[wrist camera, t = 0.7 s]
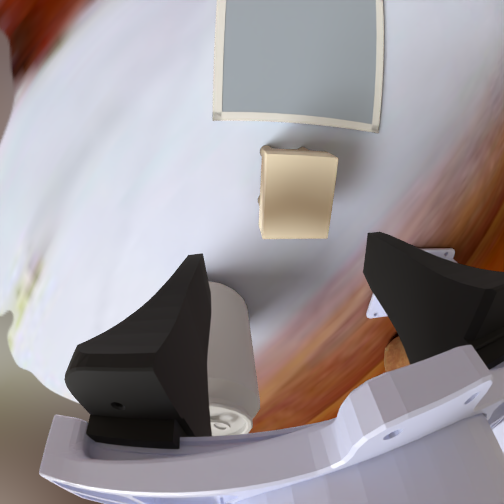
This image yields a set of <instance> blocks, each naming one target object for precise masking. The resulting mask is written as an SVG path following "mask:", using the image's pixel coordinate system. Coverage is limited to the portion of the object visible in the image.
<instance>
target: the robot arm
mask: <svg viewBox="0 0 504 504" xmlns="http://www.w3.org/2000/svg"><path fill="white" fill-rule="evenodd" d="M454 254H455V250H454V249H453V248H435V249H419V248H417V247H415V246H413V245H410V244H408V243H406V242H404V241H402V240H399V239H397V238H395V237H393V236H390V235H388V234H385V233H382V232H374V233H368V236H367V245H366V254H365V262H364V269H363V273H364V275H365V277H366V280H367V282H368V284H369V286H370V288H371V290H372V292H373V295H372V298H371V301H370V304H369V307H368V310H367V313H366V315H367V317H368V318H376V317H384V316H388V317H389V319H390V320H391V322H392V323H393V325H394V327H395V329H396V331H397V333H398V335H399V337H400V340H401V342H402V344H403V347H404V349H405V352H406V355H407V357H408V360H409V363H410V365H408V366H405V367H402V368H399V369H395V370H392V371H389V372H386V373H384V374H381V375H379V376H377V377H374V378H372V379H370V380H367V381H366V382H364V383H363V384H362V385H360V386H359V387H357V388H356V389H354V390H353V391H352V392H351V393H350V394H349V395H348V397H347V398H346V399H345V401H344V402H343V403H342V405H341V406H340V409H339V412H338V415H337V417H336V418H334V419H331V420H328V421H324V422H319V423H314V424H309V425H304V426H299V427H293V428H287V429H281V430H274V431H267V432H259V433H250V434H239V435H227V436H212V431H211V421H210V409H209V394H208V373H207V357H208V345H209V334H210V324H211V313H212V310H211V291H210V286H209V282H208V277H207V272H206V267H205V262H204V258H203V254H195V255H188V256H187V258H186V259H185V260H184V261H183V262H182V264H181V265H180V266H179V268H178V269H177V270H176V271H175V273H174V274H173V275H172V276H171V277H170V279H169V280H168V281H167V282H166V283H165V284H164V285H163V286H162V287H161V289H160V290H159V291H158V292H157V293H156V294H155V295H154V296H153V297H152V298H151V299H150V300H149V301H148V302H146V303H145V304H144V305H143V306H142V307H141V308H139V309H138V310H137V311H136V312H134V313H133V314H131V315H130V316H129V317H127V318H126V319H125V320H123V321H122V322H120V323H119V324H117V325H116V326H114V327H112V328H111V329H109V330H107V331H106V332H104V333H102V334H100V335H98V336H96V337H94V338H92V339H90V340H88V341H86V342H83V343H81V344H79V345H77V347H76V349H75V352H74V354H73V356H72V359H71V361H70V364H69V366H68V369H67V371H66V374H65V383H66V386H67V388H68V389H69V391H70V392H71V393H72V395H73V396H74V397H75V398H76V399H77V401H78V402H79V403H80V404H81V405H82V406H83V407H84V408H85V409H86V410H87V411H88V412H89V413H90V419H89V423H88V422H86V421H84V420H82V419H78V418H73V417H67V416H62V415H54V418H53V421H52V425H51V428H50V432H49V435H48V439H47V442H46V446H45V450H44V454H43V458H42V462H41V466H40V471H39V474H40V475H41V476H42V477H44V478H46V479H47V480H49V481H51V482H53V483H54V484H56V485H58V486H60V487H62V488H64V489H65V490H67V491H69V492H71V493H73V494H76V495H77V496H79V497H82V498H85V499H88V500H92V501H96V502H100V503H104V504H504V272H497V271H490V270H484V269H479V268H474V267H470V266H466V265H462V264H459V263H457V262H456V261H455V260H454V259H453V257H454ZM374 313H375V314H374Z"/></svg>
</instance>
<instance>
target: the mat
mask: <svg viewBox="0 0 504 504" xmlns="http://www.w3.org/2000/svg"><path fill="white" fill-rule="evenodd" d="M383 53H384V24H383V0H217V8H216V26H215V47H214V76H213V121H271V122H288V123H301V124H313V125H323V126H332V127H340V128H347V129H354V130H361V131H367V132H374V133H378V130H379V121H380V110H381V97H382V81H383Z"/></svg>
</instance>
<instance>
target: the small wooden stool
mask: <svg viewBox="0 0 504 504" xmlns="http://www.w3.org/2000/svg"><path fill="white" fill-rule="evenodd" d="M260 154H261V156H262V165H261V187H260V196H259V197H258V203H259V206H260V209H259V228H260V231H261V235H262V238H263V239H327V237H328V231H329V225H330V218H331V211H332V205H333V197H334V190H335V182H336V174H337V166H338V158H337V157H335V156H333V155H332V154H330V153H328V152H323V151H310V150H308V149H306V148H304V147H301V148H299V149H298V150H295V149H273V148H271V147H270V146H268V145H265V146H263V147H262V148H261V149H260Z"/></svg>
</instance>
